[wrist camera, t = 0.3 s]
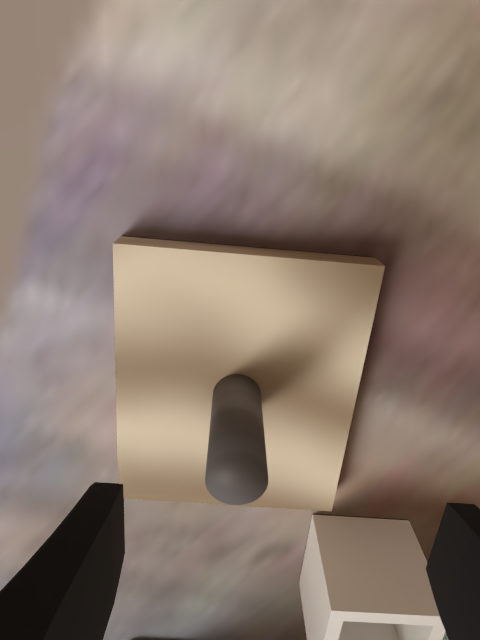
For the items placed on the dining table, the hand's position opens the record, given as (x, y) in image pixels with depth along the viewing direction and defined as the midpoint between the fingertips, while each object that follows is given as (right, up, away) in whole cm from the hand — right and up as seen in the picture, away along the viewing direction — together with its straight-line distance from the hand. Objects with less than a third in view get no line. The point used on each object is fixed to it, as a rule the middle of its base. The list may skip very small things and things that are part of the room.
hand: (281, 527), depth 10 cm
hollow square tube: (+5, -8, +14) cm, 17 cm away
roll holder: (-1, +2, +10) cm, 10 cm away
